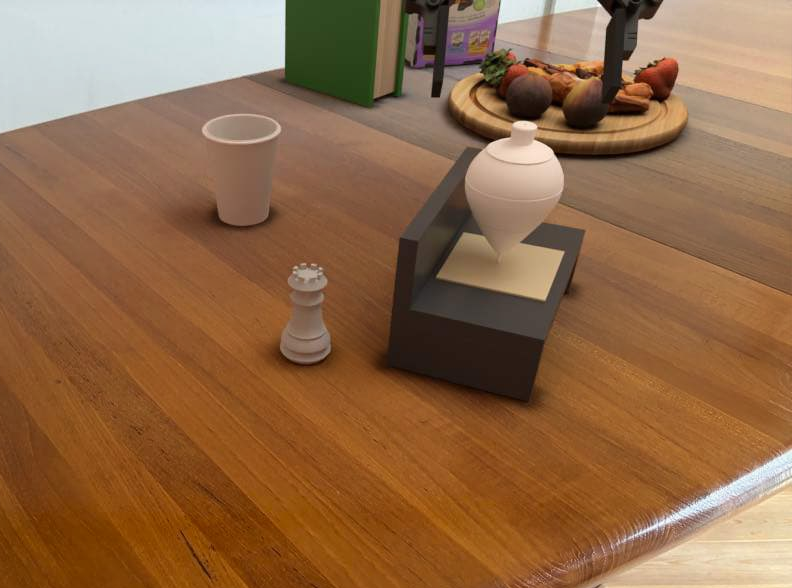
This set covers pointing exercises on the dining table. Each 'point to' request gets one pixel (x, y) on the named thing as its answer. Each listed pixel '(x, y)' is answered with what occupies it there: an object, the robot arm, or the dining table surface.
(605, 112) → the wooden plate
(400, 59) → the hardback book
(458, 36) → the candy box
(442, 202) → the dark l-shaped stand
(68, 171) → the dining table surface
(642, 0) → the robot arm
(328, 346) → the rook chess piece
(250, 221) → the dixie cup
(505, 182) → the spinning top
